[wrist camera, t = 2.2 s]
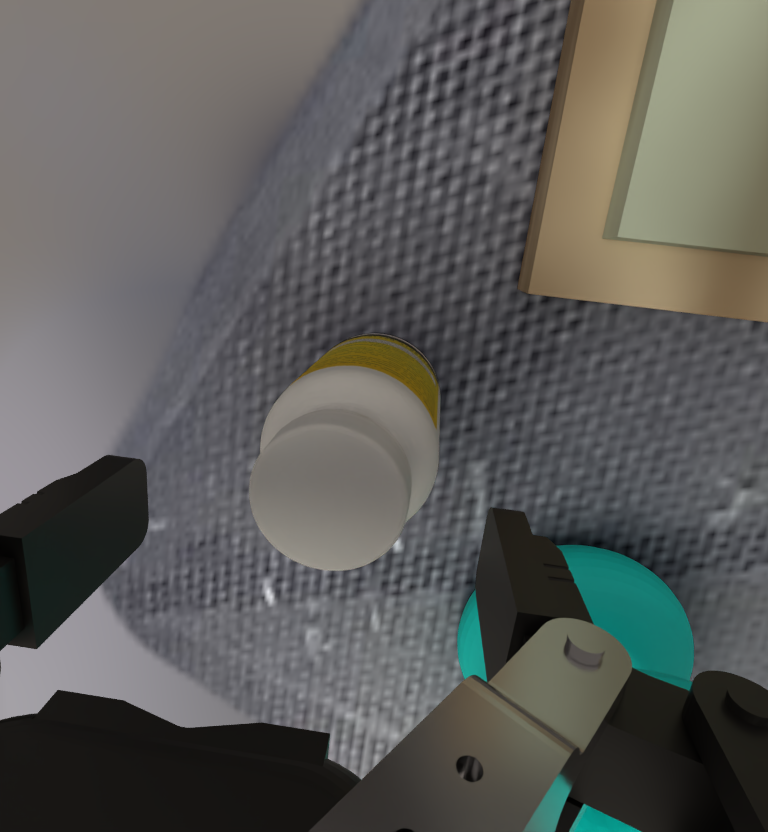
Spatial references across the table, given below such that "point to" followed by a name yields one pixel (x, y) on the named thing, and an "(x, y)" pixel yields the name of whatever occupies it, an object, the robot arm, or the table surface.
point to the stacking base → (588, 184)
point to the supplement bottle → (348, 454)
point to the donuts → (611, 630)
